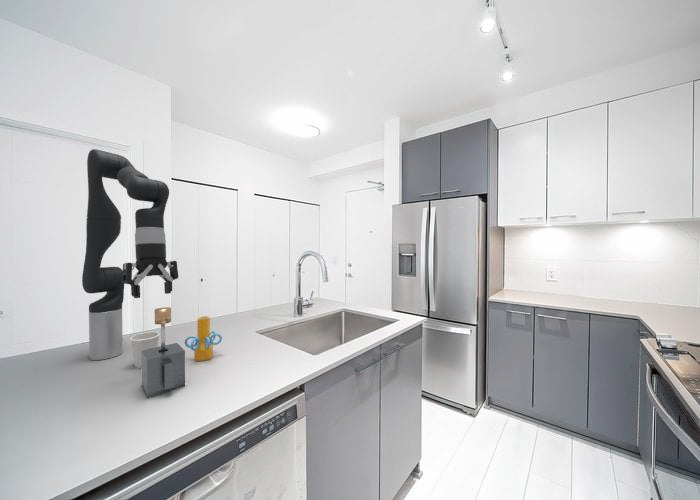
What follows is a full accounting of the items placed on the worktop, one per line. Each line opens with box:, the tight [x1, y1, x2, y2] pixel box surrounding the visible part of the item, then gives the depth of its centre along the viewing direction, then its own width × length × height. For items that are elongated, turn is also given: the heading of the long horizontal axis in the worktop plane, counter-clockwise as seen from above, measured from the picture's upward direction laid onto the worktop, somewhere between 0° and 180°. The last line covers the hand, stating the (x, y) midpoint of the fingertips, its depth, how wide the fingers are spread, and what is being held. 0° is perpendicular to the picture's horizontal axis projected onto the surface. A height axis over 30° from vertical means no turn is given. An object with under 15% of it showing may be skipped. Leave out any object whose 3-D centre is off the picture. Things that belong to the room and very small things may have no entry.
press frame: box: [141, 342, 186, 400], centre depth 78 cm, size 12×9×11 cm
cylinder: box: [184, 315, 223, 362], centre depth 98 cm, size 12×10×15 cm
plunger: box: [154, 306, 172, 352], centre depth 78 cm, size 7×7×15 cm
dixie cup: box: [129, 331, 161, 369], centre depth 93 cm, size 8×8×10 cm
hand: (153, 295), depth 82 cm, fingers open, 8 cm apart
